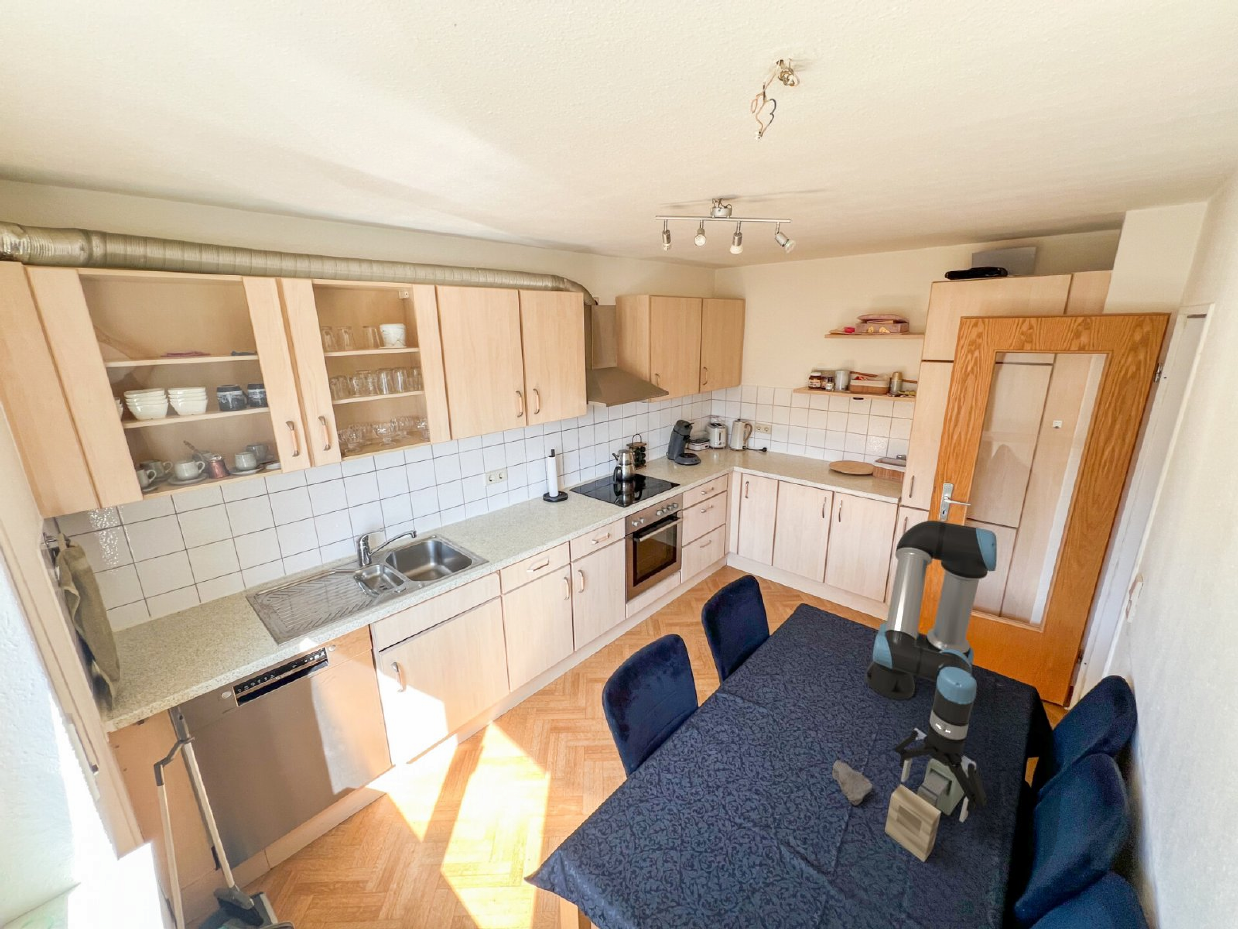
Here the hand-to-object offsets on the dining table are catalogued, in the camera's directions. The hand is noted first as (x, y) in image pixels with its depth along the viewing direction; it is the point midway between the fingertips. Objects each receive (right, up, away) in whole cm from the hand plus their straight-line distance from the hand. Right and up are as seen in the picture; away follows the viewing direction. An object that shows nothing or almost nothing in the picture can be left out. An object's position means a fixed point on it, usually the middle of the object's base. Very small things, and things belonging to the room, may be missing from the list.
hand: (932, 798), depth 124 cm
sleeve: (+6, -4, +6) cm, 9 cm away
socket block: (-10, -7, -5) cm, 13 cm away
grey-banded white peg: (+3, +2, +2) cm, 4 cm away
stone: (-18, -3, +8) cm, 20 cm away
